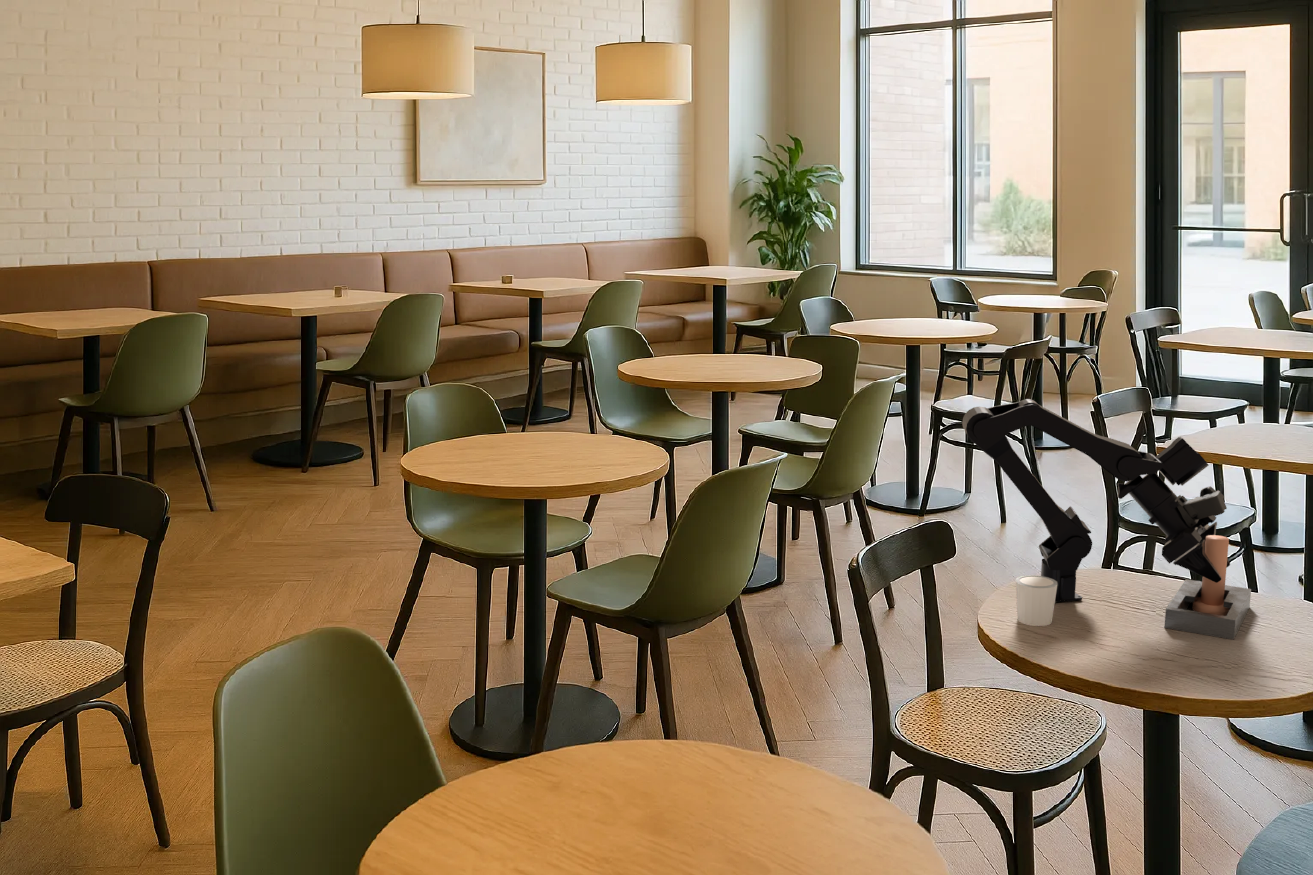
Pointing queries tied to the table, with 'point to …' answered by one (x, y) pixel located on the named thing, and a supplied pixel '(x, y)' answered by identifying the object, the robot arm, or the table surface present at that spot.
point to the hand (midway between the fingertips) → (1223, 573)
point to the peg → (1211, 590)
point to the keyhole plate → (1207, 622)
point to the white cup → (1035, 599)
